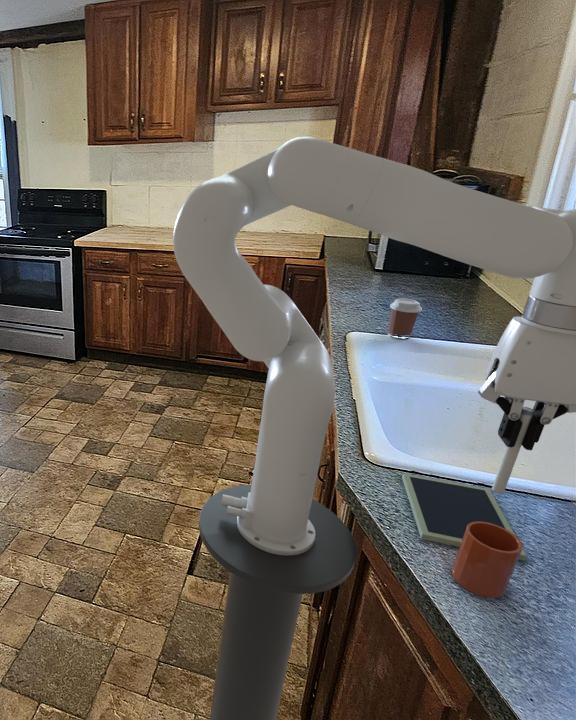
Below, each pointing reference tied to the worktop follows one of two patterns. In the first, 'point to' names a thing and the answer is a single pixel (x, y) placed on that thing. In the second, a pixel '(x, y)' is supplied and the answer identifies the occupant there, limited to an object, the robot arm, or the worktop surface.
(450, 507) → the tablet
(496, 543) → the pen cup
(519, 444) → the stylus
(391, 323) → the coffee cup
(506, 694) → the worktop surface
